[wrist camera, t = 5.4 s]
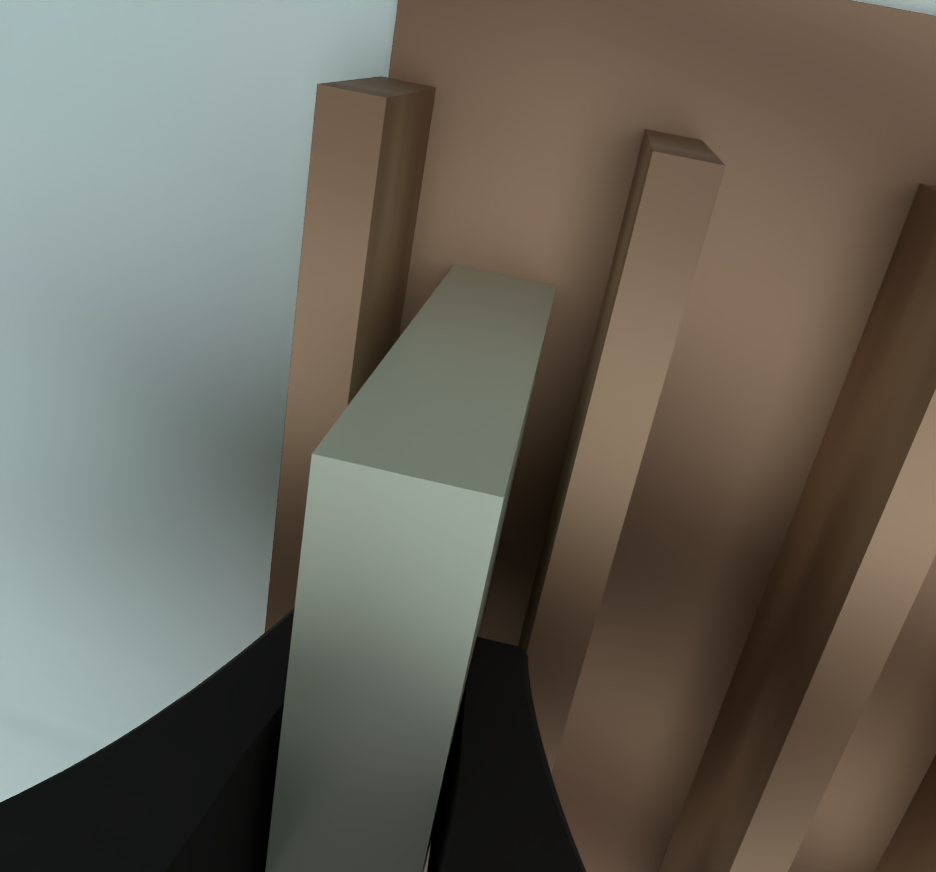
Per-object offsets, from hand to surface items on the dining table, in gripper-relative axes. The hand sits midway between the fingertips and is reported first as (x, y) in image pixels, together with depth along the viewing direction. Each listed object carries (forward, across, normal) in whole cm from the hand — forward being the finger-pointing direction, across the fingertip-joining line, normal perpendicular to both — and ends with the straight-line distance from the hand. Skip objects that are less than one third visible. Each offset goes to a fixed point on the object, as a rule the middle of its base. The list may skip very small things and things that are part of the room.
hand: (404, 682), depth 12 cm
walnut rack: (+5, -4, 0) cm, 6 cm away
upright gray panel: (+4, 0, 0) cm, 4 cm away
